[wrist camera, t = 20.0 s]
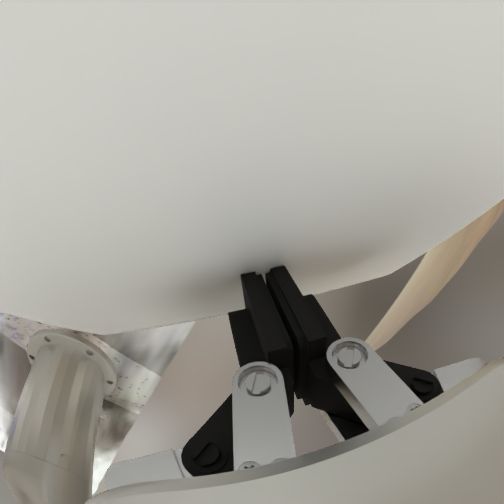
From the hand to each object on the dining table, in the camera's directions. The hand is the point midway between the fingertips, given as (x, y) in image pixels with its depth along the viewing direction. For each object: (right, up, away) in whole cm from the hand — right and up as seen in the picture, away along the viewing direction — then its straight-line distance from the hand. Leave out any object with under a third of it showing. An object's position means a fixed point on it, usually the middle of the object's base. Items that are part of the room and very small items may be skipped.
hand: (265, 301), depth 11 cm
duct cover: (0, +2, -1) cm, 3 cm away
